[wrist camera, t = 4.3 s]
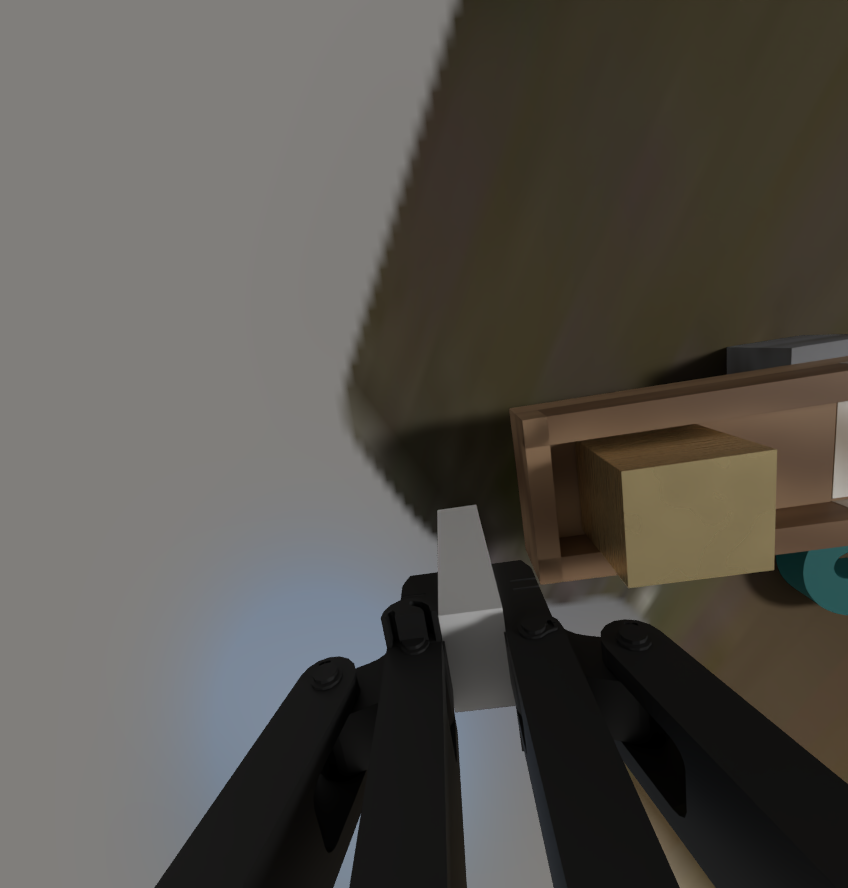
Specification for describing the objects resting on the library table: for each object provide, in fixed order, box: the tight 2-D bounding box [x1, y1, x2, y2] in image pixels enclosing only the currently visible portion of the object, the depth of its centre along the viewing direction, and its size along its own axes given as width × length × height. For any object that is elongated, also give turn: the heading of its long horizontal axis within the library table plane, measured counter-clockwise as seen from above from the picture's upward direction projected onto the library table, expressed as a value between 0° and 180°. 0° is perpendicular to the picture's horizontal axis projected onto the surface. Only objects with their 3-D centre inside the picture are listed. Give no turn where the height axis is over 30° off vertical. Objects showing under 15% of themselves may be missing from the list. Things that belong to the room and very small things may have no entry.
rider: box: [575, 424, 777, 588], centre depth 17 cm, size 4×5×5 cm
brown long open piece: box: [509, 334, 848, 585], centre depth 21 cm, size 9×30×8 cm, turn 99°
